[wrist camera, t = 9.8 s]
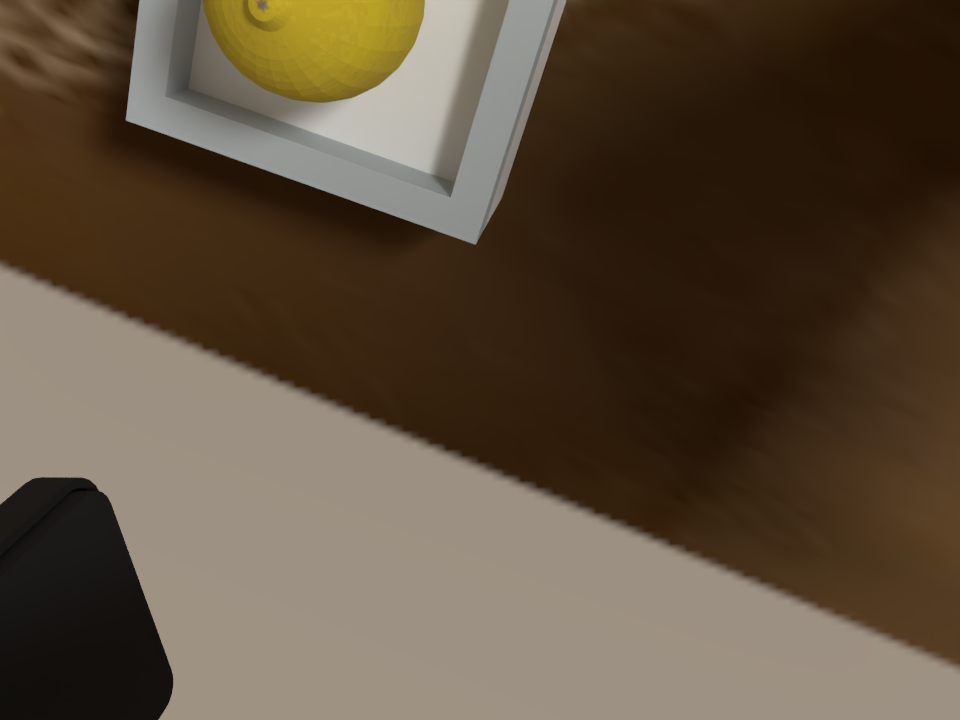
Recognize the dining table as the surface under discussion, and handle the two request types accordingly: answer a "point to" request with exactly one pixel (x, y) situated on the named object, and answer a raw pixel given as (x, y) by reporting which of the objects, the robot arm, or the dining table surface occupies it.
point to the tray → (364, 109)
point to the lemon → (315, 43)
